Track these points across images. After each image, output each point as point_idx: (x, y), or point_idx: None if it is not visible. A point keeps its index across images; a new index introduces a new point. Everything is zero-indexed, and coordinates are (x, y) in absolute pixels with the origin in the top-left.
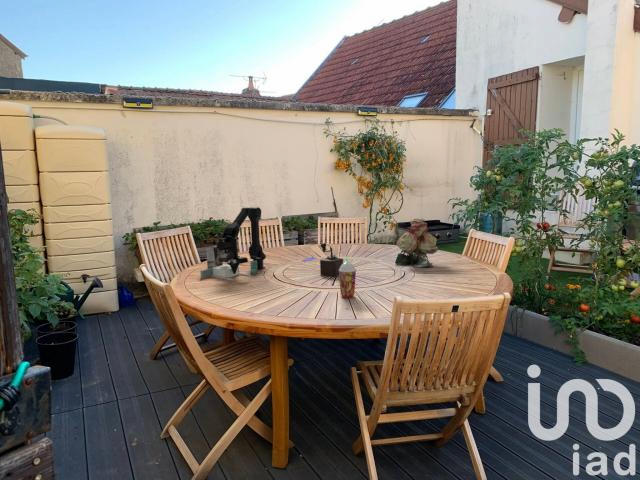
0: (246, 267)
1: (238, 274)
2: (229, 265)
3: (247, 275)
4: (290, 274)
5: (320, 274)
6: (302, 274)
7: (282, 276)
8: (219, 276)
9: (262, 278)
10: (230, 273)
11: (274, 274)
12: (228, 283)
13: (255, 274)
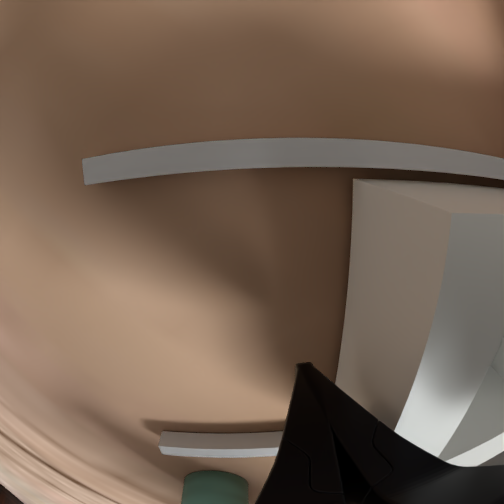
0: None
1: None
2: (502, 447)
3: (189, 440)
4: (55, 496)
5: (2, 487)
6: (33, 494)
7: (30, 467)
8: (471, 164)
9: (26, 413)
10: (367, 331)
11: (99, 496)
12: (60, 31)
13: (184, 480)
